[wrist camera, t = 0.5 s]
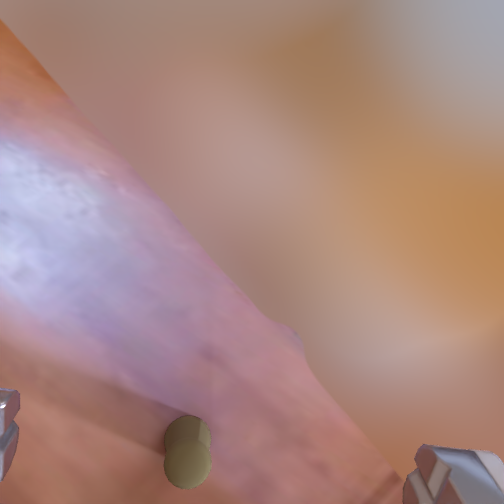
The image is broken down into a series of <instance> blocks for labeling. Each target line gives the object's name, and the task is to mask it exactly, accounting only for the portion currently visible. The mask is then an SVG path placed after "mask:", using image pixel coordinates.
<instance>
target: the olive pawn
mask: <svg viewBox="0 0 504 504" xmlns="http://www.w3.org/2000/svg"><path fill="white" fill-rule="evenodd" d="M210 443H211V434H210V430H209V428H208V426H207V424H206V423H205V422H204V421H202V420H201V419H200V418H197V417H195V416H183V417H180V418H178V419H176V420H175V421H173V422H172V423H171V425H170V426H169V427H168V429H167V431H166V433H165V438H164V444H165V450H166V455H165V460H164V470H165V474H166V476H167V478H168V480H169V481H170V482H171V483H172V484H173V485H174V486H176V487H178V488H181V489H191V488H195V487H197V486H199V485H200V484H202V483H203V482H204V480H205V479H206V478H207V477H208V474H209V472H210V470H211V464H212V460H211V455H210V451H209V448H210Z"/></svg>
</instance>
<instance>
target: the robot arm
mask: <svg viewBox="0 0 504 504" xmlns="http://www.w3.org/2000/svg"><path fill="white" fill-rule="evenodd" d="M19 409H20V393H19V392H18V391H17V390H11V389H5V388H0V482H1V481H3V479H4V477H5V476H6V474H7V472H8V470H9V468H10V466H11V463H12V460H13V458H14V455H15V452H16V448H17V443H18V436H19V427H18V426H17V424H16V423H15V422H14V420H13V419H14V417H15V416H16V414H17V412H18V411H19ZM414 459H415V462H416V465H417V467H418V468H417V469H415V470H414V471H413V472H411V473H410V474H409V475H407V478H406V481H405V484H404V487H403V504H504V463H503V462H502V461H501V459H500V458H499V457H498V456H497V455H496V454H494V453H493V452H491V451H482V450H473V449H468V450H466V449H459V448H450V447H442V446H434V445H427V444H423V445H422V446H421V447H420V448H419V449H418V451H417V453H416V456H415V458H414Z"/></svg>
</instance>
